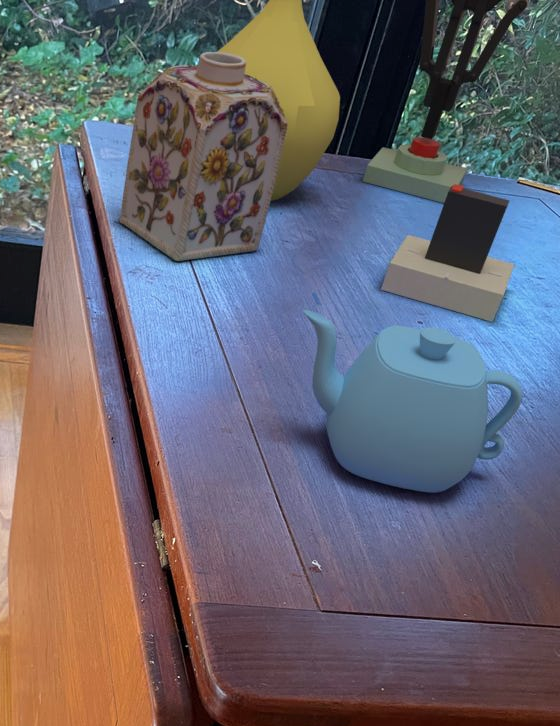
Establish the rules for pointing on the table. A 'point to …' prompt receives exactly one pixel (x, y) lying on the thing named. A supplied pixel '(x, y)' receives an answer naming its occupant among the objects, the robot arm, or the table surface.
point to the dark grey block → (466, 228)
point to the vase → (291, 86)
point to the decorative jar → (203, 159)
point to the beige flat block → (447, 281)
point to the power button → (424, 147)
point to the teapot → (410, 406)
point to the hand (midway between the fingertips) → (427, 135)
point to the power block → (414, 173)
